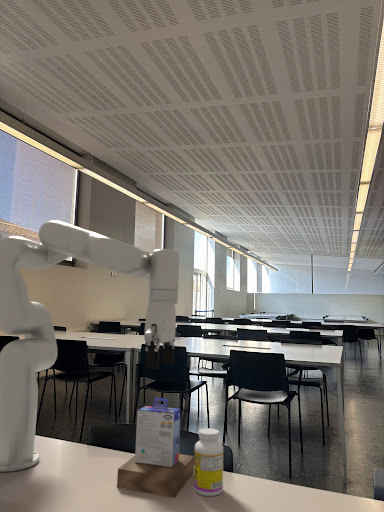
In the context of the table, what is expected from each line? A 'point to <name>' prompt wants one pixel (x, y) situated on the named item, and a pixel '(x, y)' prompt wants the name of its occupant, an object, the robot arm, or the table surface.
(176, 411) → the ink cartridge box
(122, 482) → the walnut block
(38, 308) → the robot arm
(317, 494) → the table surface
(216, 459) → the supplement bottle
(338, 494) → the table surface
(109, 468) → the table surface
